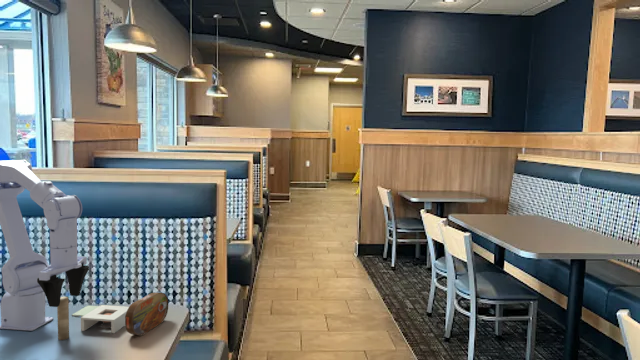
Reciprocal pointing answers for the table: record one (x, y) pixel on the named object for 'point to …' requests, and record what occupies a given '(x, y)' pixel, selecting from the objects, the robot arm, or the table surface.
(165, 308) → the tin
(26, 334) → the table surface
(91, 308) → the mat
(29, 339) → the table surface
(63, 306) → the wooden block
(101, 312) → the box
